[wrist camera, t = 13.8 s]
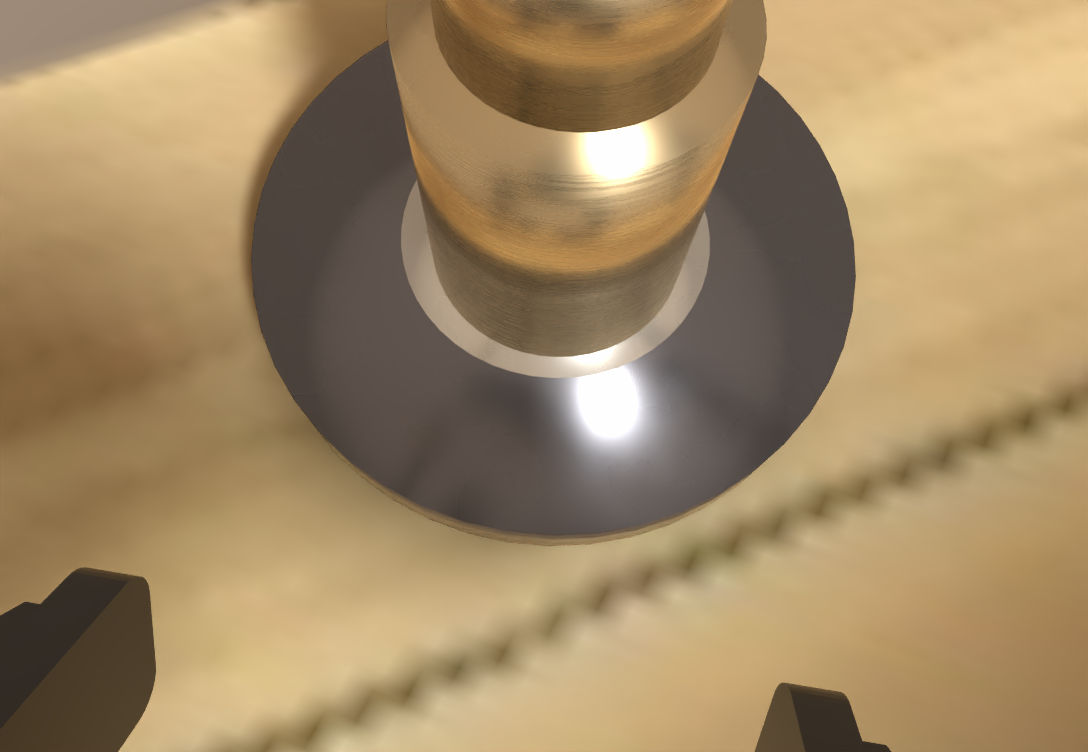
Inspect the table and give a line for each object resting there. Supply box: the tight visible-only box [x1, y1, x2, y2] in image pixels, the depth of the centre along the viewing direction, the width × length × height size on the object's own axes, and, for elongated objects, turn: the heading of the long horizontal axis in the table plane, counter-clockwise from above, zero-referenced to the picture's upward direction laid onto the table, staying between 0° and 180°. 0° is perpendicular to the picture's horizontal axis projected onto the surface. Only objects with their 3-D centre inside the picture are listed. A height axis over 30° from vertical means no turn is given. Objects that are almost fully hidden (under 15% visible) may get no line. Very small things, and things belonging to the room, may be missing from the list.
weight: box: [386, 0, 767, 357], centre depth 14 cm, size 6×6×10 cm
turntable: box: [251, 40, 856, 546], centre depth 20 cm, size 14×14×2 cm
